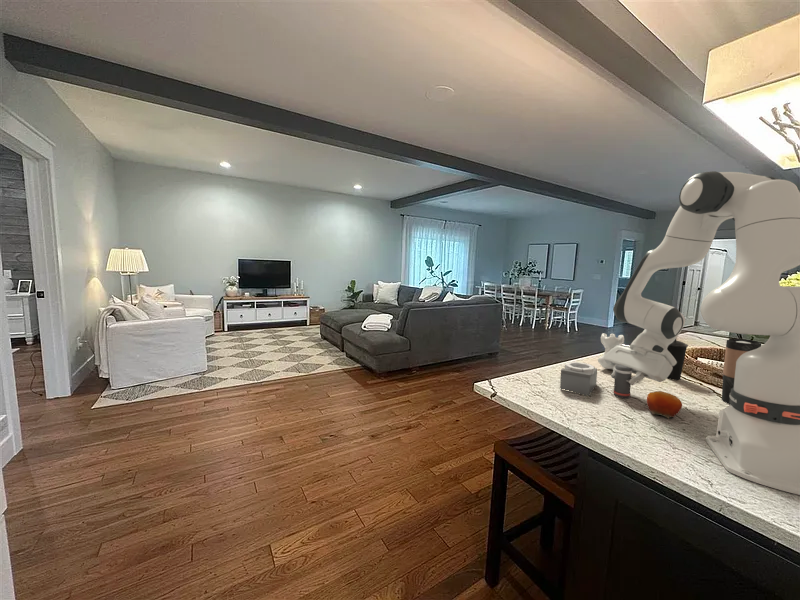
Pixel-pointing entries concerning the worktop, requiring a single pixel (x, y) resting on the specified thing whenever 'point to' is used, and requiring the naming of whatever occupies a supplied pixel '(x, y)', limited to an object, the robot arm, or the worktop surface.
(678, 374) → the drinking cup
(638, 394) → the worktop surface
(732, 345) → the travel mug
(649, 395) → the fruit
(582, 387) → the grey block with hole
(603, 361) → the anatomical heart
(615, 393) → the lens
